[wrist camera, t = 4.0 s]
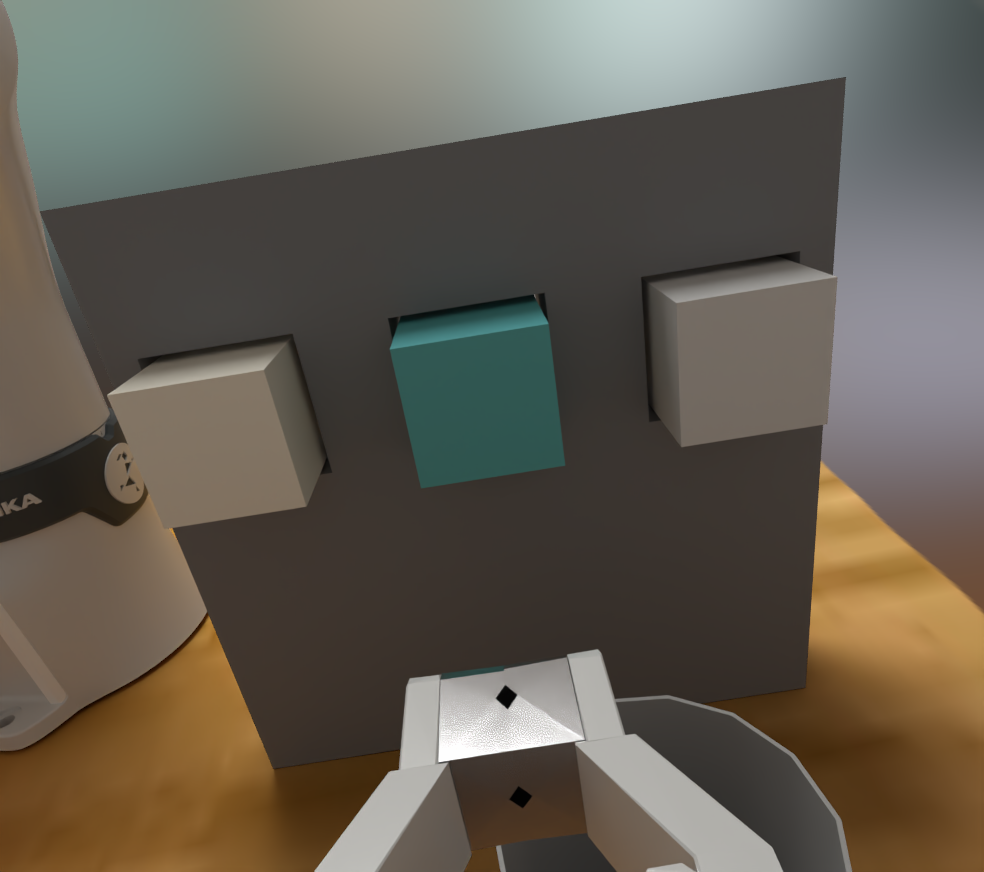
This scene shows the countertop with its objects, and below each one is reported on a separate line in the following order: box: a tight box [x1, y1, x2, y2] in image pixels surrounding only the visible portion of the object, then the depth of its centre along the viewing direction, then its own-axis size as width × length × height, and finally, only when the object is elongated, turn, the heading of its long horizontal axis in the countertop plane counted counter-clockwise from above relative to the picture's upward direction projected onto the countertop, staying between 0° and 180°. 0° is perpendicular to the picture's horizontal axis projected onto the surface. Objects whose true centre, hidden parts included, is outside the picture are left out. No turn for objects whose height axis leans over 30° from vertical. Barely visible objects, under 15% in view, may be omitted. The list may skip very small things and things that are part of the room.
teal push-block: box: [390, 295, 565, 488], centre depth 24 cm, size 5×6×5 cm
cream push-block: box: [107, 334, 327, 529], centre depth 24 cm, size 5×6×5 cm
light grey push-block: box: [641, 255, 837, 447], centre depth 24 cm, size 5×6×5 cm
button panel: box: [40, 77, 846, 769], centre depth 28 cm, size 26×4×26 cm, turn 93°
